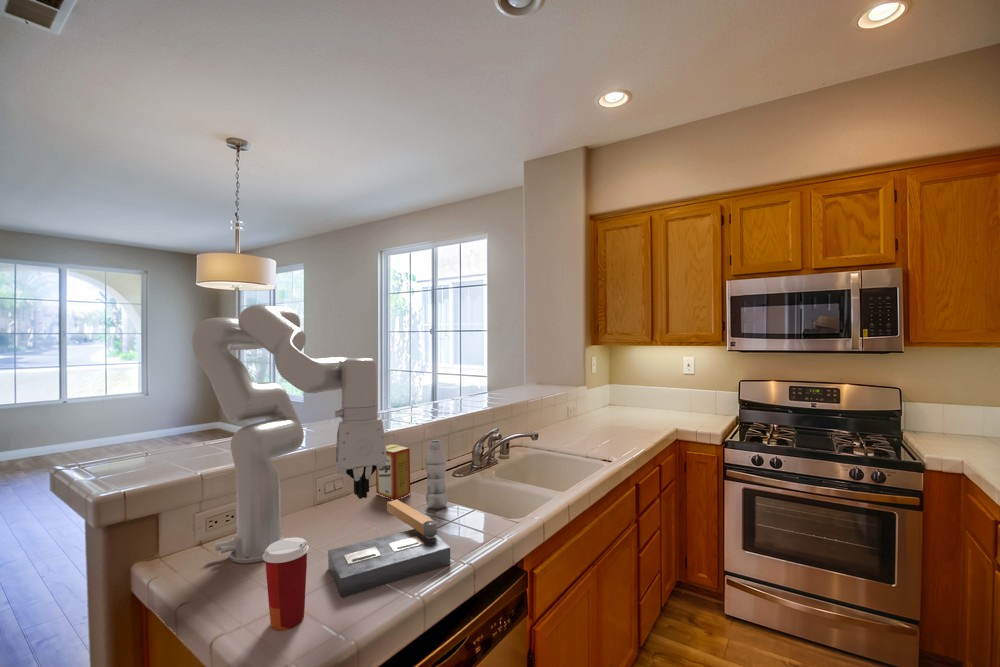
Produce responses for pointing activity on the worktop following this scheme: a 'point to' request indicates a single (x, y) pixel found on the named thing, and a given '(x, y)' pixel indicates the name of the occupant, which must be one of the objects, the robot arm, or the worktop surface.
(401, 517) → the light orange bar
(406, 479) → the red and yellow box
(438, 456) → the plastic bottle
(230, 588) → the worktop surface
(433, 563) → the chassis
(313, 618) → the worktop surface
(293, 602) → the paper cup
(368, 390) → the robot arm
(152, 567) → the worktop surface
